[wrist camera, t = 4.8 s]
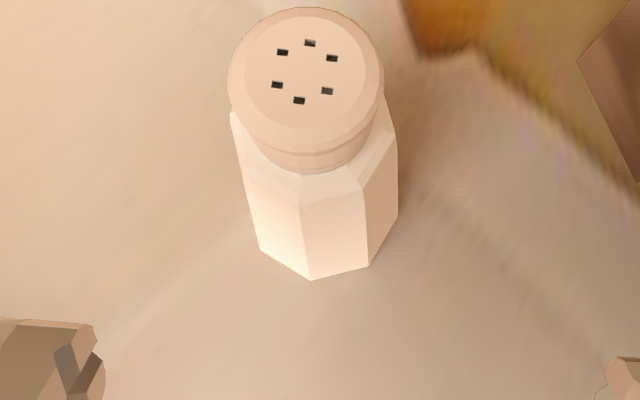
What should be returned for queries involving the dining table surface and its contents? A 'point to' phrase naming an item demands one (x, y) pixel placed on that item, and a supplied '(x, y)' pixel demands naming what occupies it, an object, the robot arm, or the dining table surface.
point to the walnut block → (618, 80)
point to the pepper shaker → (314, 140)
